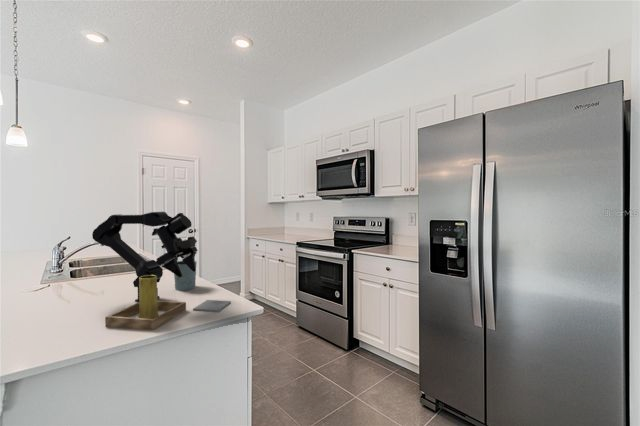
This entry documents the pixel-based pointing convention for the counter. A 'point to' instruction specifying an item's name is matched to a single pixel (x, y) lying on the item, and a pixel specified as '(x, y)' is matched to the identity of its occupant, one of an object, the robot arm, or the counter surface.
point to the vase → (148, 297)
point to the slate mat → (212, 305)
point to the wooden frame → (125, 321)
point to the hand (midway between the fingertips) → (188, 273)
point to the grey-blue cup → (185, 277)
